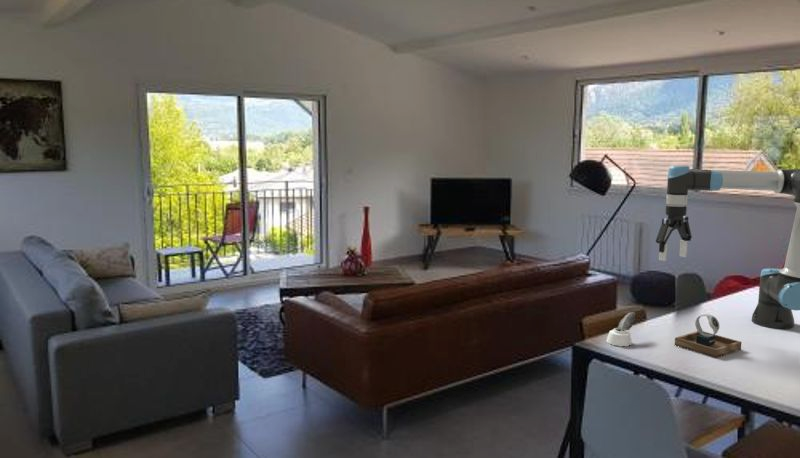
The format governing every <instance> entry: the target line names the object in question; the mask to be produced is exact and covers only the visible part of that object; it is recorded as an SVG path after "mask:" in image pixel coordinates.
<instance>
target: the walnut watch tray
mask: <svg viewBox="0 0 800 458" xmlns="http://www.w3.org/2000/svg"><path fill="white" fill-rule="evenodd" d="M703 333H707V334H711V335H712V334H713V333H710V332H707V331H704V330H703ZM697 335H700V333H699V332H698V331H697V330H696V331H693V332H691V333H685V334H684V335H680V336H677V337H675V338H674V346H675V345H676V346H675V347H678V346H679V347H678V348H681V347H682V349H684V348H685V350H687V349H688V351H691V350H692V351H691V352H694V351H695V352H694V353H697V352H698V353H697V354H700V353H701V355H703V356H707V357H710V356H711V358H713V357H714V358H713V359H719V358H721V356H722V357H724V355H725V356H727V355H730V354H733V353H735V352H739V351H741V349H742V343H743V342H742V341H740V340H737V339H733V338H729V337H726V336H721V335H718V334H715V344H713V345H711V346H709V347H708V346H704V345H701V344H698V343H696V339H697ZM726 354H727V355H726ZM718 357H719V358H718Z"/></svg>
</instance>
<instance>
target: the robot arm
mask: <svg viewBox="0 0 800 458" xmlns="http://www.w3.org/2000/svg"><path fill="white" fill-rule="evenodd" d="M666 186H667V187H666V188H667V190H666V201H665V203H666V206H665V215H666V216H667V218H666V217H665V218H664V217H663V218H662V219H661V225H660V228H659V230H658V234H657V235H656V238H655V243H657V244H659V245H658V246H659V248H658V252H659V253H658V260H659V261H664V262H665V261H667V250H668V244H667V241H668V240H669V238H670V236H671V234H672V233H673V231H674V230H677V231H678V234H679V237H680V238H681V239H680V241H679V254H678V255H679V257H681V258H682V257H683V258H687V256H688V255H687V254H688V242H690V241H691V240H692V238H693V237H692V233H691V232H692V231H691V229H690V223H689V216H687V206H686V205H688V195H689V193H688V192H689V191H704V192H705V191H707V192H715V191H717V192H718V191H720V190H722V189H723V190H742V191H743V190H744V191H768V192H769V191H770V192H771V191H772V192H774V193H775V194H781V195H783V194H784V195H787V196H789V195H790V196H792V197H794V198H793V204H794V205H795V206H796V210H795V211H796V212H795V215H794V219H793V226H792V229H791V235H790V239H789V243H788V248H787V253H786V257H785V261H784V266H783V268H773V267H772V268H770V267H769V268H763V269H761V272H760V276H759V287H758V288H759V289H758V301H757V305H756V307H755V308H754V311H753V313H752V314H751V315H752V316H751V322H752V323H753V324H756V325H758V326H761V327H766V328H772V329H785V330H787V329H793V328H794V326H795V318H794V314H793V311H800V168H791V169H789V168H788V169H787V168H786V169H776V171H762V170H761V171H756V170H731V169H730V170H727V169H697V168H690V166H688V165H671V166H669V167H668V172H667V185H666Z"/></svg>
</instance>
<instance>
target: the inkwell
mask: <svg viewBox="0 0 800 458" xmlns="http://www.w3.org/2000/svg"><path fill="white" fill-rule="evenodd" d="M635 317H636V312H635V311H631V312H628V313H627V314H625V315H624V317H623V318H621V320H620V321H619V323H618V326H617V327H614V328H613V329H611V330H609V332H608V335H607V337H606V343H608V344H609V345H611V344H612V345H611V346H614V345H618V346H617V347H622V346H625V347H630V346H631V345H633V341H632V337H631V334H630V332H629V331H630V330H631V328H632V327H633V324H634V321H635V319H636V318H635ZM629 345H630V346H629Z"/></svg>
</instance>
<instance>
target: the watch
mask: <svg viewBox="0 0 800 458" xmlns="http://www.w3.org/2000/svg"><path fill="white" fill-rule="evenodd" d="M701 317H706V318H707V321H708V324H709V326H710V328H711V329H712V331H713V332H712V333H711V334H712V335H711V334H707V333H703V331H704V330H703V328H702V326H701V323H700V319H701ZM694 325H695V328H696V331H698V332H699V333H700V335H697V339H696V343H698V344H701V345H704V346H708V347H709V346H711V345H713V344H715V335H717V333H718V331H719V329H720V322H719V320H718V319H717V318H716V317H715V316H714V315H711V314H708V313H703V314H700V315H699V316H697V317H696V318H695V321H694Z"/></svg>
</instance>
